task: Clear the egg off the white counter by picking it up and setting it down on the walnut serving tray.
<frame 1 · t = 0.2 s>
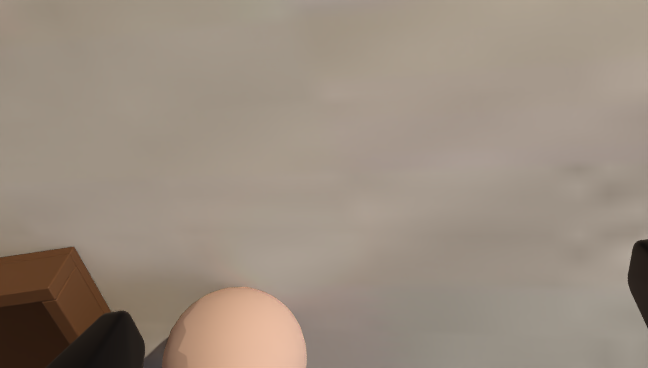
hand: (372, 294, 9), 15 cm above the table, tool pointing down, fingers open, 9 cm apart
egg: (245, 302, 30), on the table
tray: (17, 359, 32), on the table
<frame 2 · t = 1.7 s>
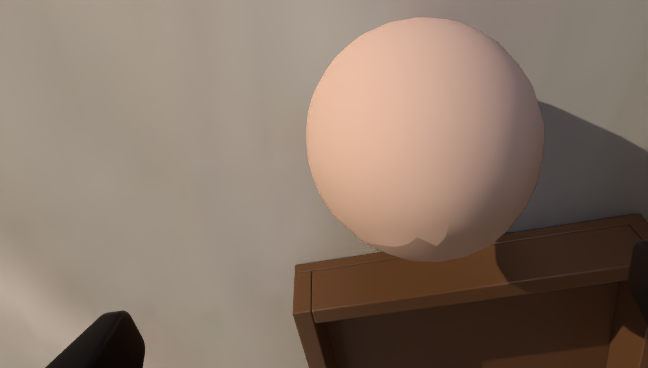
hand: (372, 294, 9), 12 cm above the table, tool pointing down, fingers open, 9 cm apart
egg: (401, 88, 20), on the table
tray: (468, 346, 28), on the table
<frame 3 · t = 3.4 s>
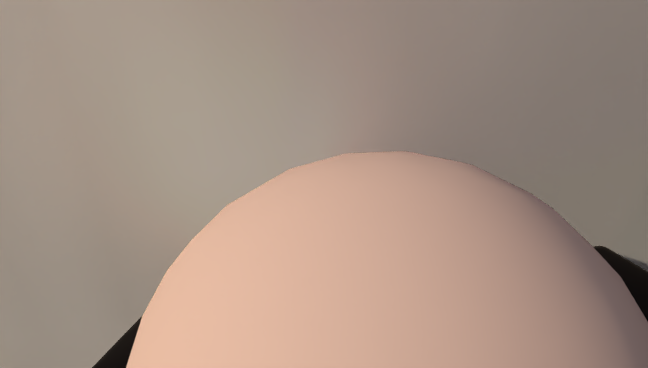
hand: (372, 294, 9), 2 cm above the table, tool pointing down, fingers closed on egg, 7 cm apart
egg: (364, 231, 11), on the table, touching gripper
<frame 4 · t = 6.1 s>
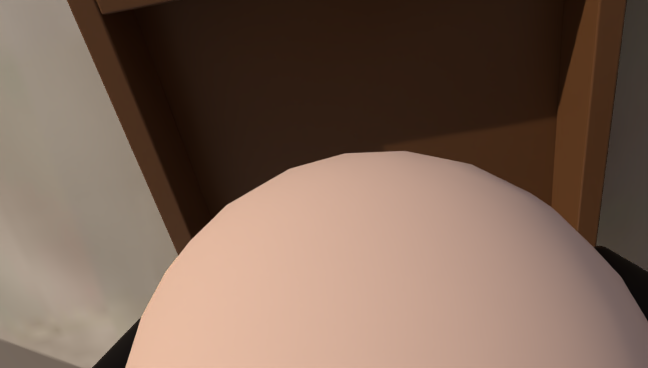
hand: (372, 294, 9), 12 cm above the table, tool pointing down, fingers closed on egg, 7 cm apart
egg: (363, 231, 11), point 10 cm above the table, touching gripper
tray: (367, 128, 20), on the table
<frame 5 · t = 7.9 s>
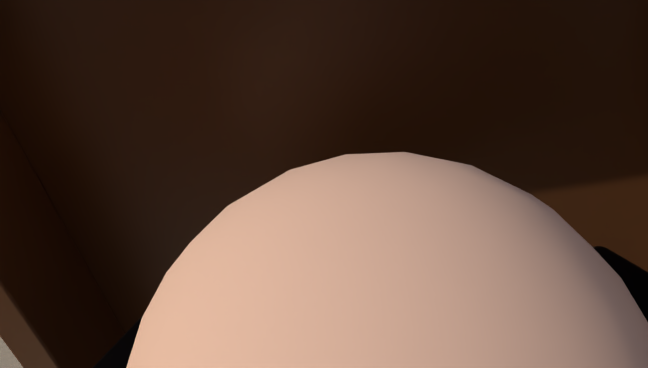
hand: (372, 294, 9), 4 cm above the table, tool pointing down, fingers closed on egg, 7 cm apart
egg: (363, 232, 11), point 2 cm above the table, touching gripper
tray: (357, 184, 13), on the table
when the fingers open (2 cm above the table, at t = 9.0 s): egg stays where it is, resting on tray.
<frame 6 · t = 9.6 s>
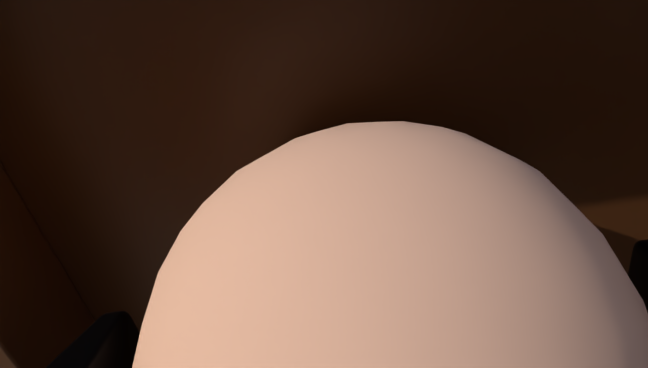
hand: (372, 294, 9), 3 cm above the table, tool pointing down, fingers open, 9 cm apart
egg: (364, 207, 11), resting on tray
tray: (363, 200, 12), on the table
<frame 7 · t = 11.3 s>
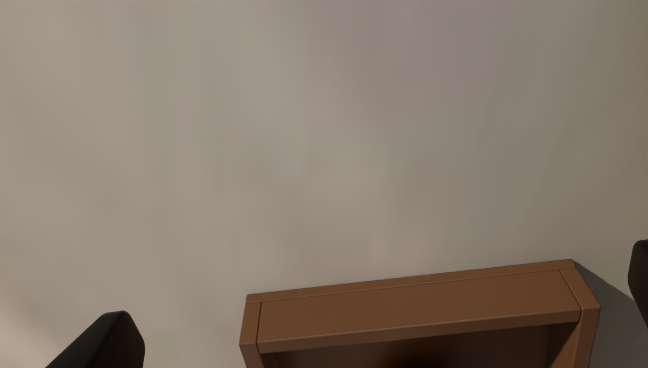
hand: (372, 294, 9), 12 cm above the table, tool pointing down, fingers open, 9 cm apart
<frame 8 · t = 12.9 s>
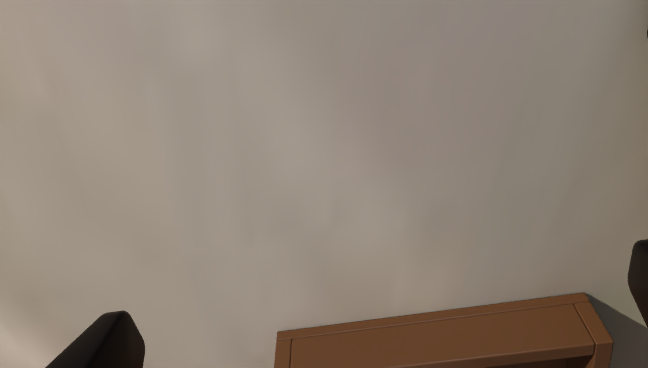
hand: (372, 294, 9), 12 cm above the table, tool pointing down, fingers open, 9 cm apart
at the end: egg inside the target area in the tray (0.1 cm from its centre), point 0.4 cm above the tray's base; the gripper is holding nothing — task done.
